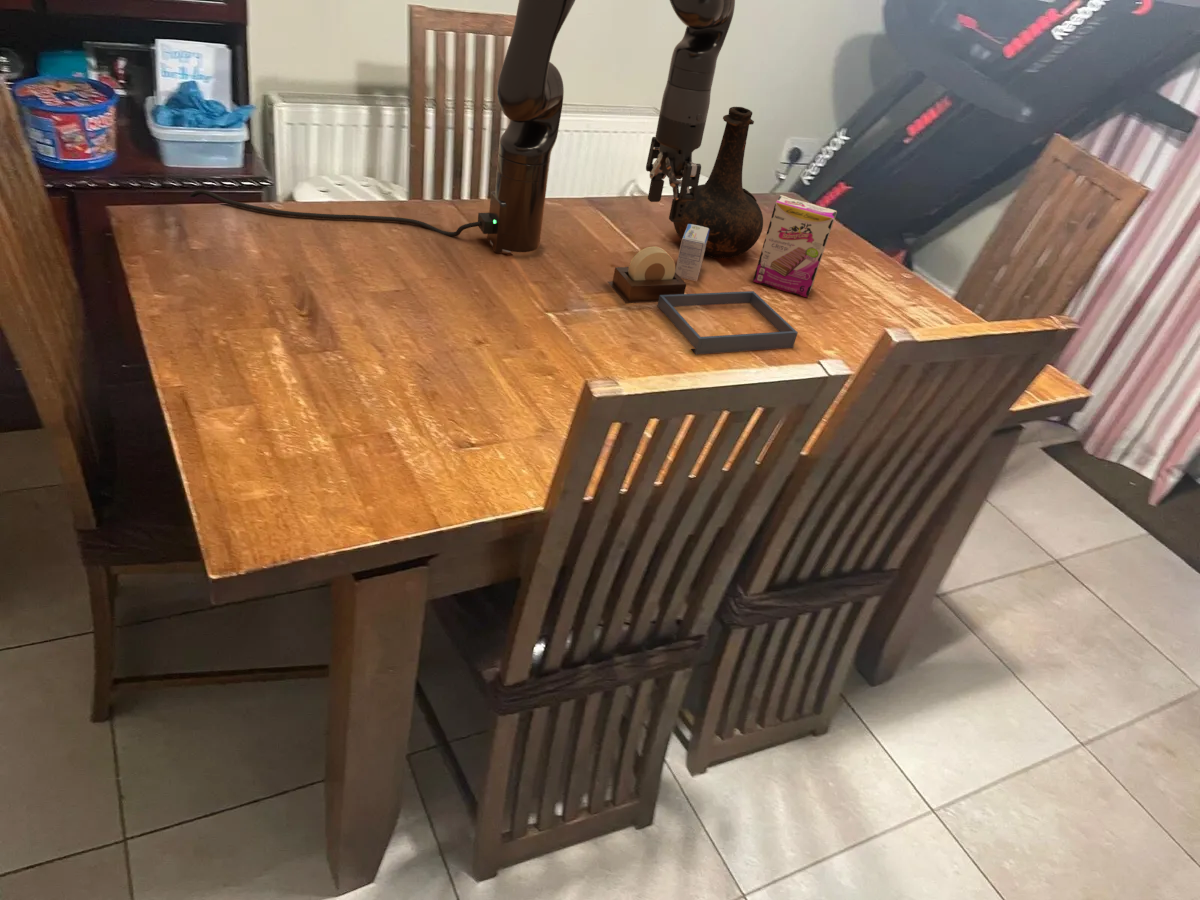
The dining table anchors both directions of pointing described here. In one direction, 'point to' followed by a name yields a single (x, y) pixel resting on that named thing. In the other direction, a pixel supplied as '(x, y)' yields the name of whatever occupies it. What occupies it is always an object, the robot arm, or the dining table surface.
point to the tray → (728, 341)
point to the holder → (644, 287)
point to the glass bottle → (726, 196)
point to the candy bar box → (794, 245)
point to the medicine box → (692, 252)
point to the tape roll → (651, 265)
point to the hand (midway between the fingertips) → (664, 211)
